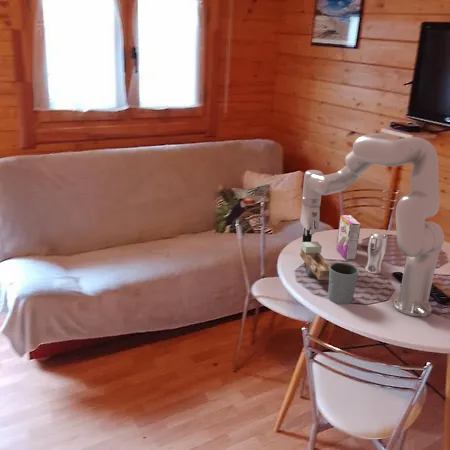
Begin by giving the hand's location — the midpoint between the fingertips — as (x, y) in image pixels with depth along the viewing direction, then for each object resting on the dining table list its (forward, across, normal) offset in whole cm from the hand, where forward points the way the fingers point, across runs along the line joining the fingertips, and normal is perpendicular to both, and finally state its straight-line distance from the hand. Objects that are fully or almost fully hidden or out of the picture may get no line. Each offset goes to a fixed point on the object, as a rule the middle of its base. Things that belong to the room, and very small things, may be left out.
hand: (306, 243), depth 205 cm
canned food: (+8, +16, -25) cm, 31 cm away
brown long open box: (+8, -13, 0) cm, 15 cm away
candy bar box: (+8, +4, -20) cm, 22 cm away
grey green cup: (+8, -33, -2) cm, 34 cm away
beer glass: (+8, -12, -25) cm, 29 cm away
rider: (+3, -6, 0) cm, 7 cm away
